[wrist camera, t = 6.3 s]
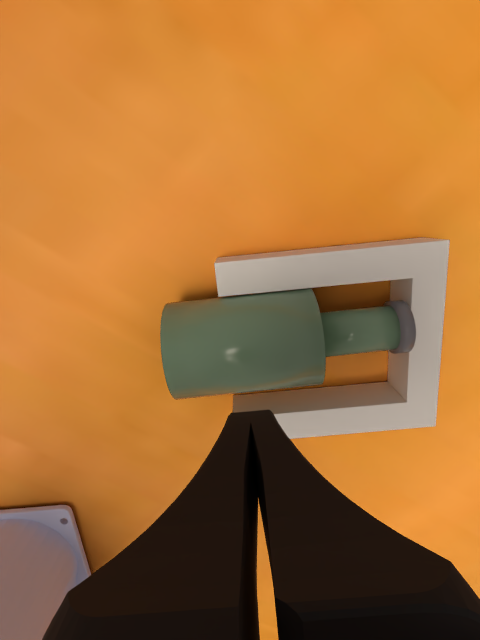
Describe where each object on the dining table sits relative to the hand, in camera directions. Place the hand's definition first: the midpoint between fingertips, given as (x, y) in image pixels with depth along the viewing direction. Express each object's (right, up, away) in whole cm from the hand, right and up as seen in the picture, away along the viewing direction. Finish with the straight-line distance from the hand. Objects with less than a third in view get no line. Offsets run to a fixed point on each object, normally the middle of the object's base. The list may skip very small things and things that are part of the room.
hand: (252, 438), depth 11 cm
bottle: (-4, +2, +6) cm, 8 cm away
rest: (+3, +3, +8) cm, 10 cm away
